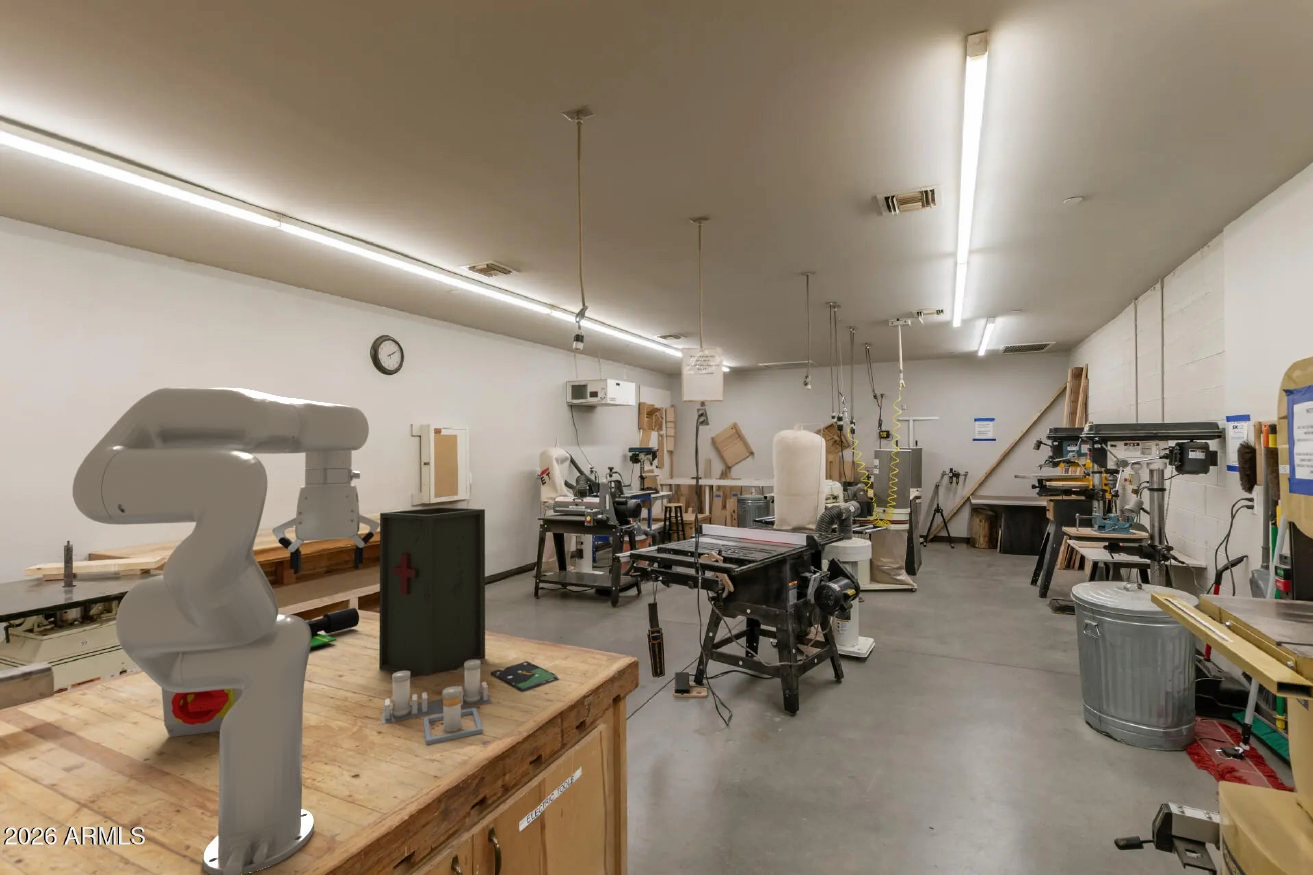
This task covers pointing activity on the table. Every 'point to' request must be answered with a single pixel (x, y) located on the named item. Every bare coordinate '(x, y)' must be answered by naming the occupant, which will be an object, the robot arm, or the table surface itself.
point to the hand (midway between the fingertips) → (327, 570)
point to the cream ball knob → (472, 681)
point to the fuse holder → (430, 706)
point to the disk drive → (524, 676)
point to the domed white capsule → (401, 693)
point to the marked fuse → (452, 708)
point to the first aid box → (431, 589)
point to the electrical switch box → (196, 710)
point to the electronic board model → (332, 625)
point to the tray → (452, 735)
